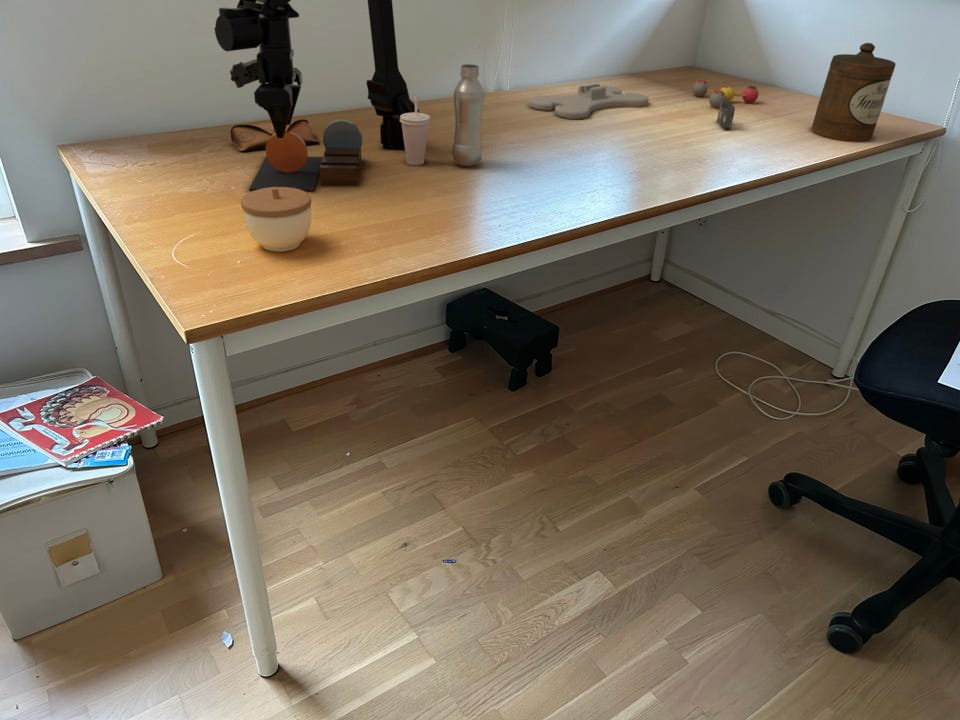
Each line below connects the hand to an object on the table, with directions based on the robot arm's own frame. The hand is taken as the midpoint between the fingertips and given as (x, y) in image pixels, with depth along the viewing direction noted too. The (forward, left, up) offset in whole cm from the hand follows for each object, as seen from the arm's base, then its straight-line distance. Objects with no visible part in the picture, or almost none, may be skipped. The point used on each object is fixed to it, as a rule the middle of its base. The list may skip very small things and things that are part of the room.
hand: (284, 131), depth 143 cm
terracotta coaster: (0, 0, -4) cm, 4 cm away
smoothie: (-26, -9, -9) cm, 28 cm away
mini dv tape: (-107, -43, -9) cm, 115 cm away
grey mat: (0, 0, -8) cm, 9 cm away
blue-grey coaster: (-11, -7, -4) cm, 13 cm away
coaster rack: (-11, -2, -8) cm, 14 cm away
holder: (-75, -62, -9) cm, 97 cm away
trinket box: (-4, +34, -9) cm, 36 cm away
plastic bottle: (-37, -8, -9) cm, 38 cm away
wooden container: (-137, -38, -9) cm, 142 cm away
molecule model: (-118, -69, -9) cm, 136 cm away
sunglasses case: (+5, -21, -9) cm, 23 cm away
